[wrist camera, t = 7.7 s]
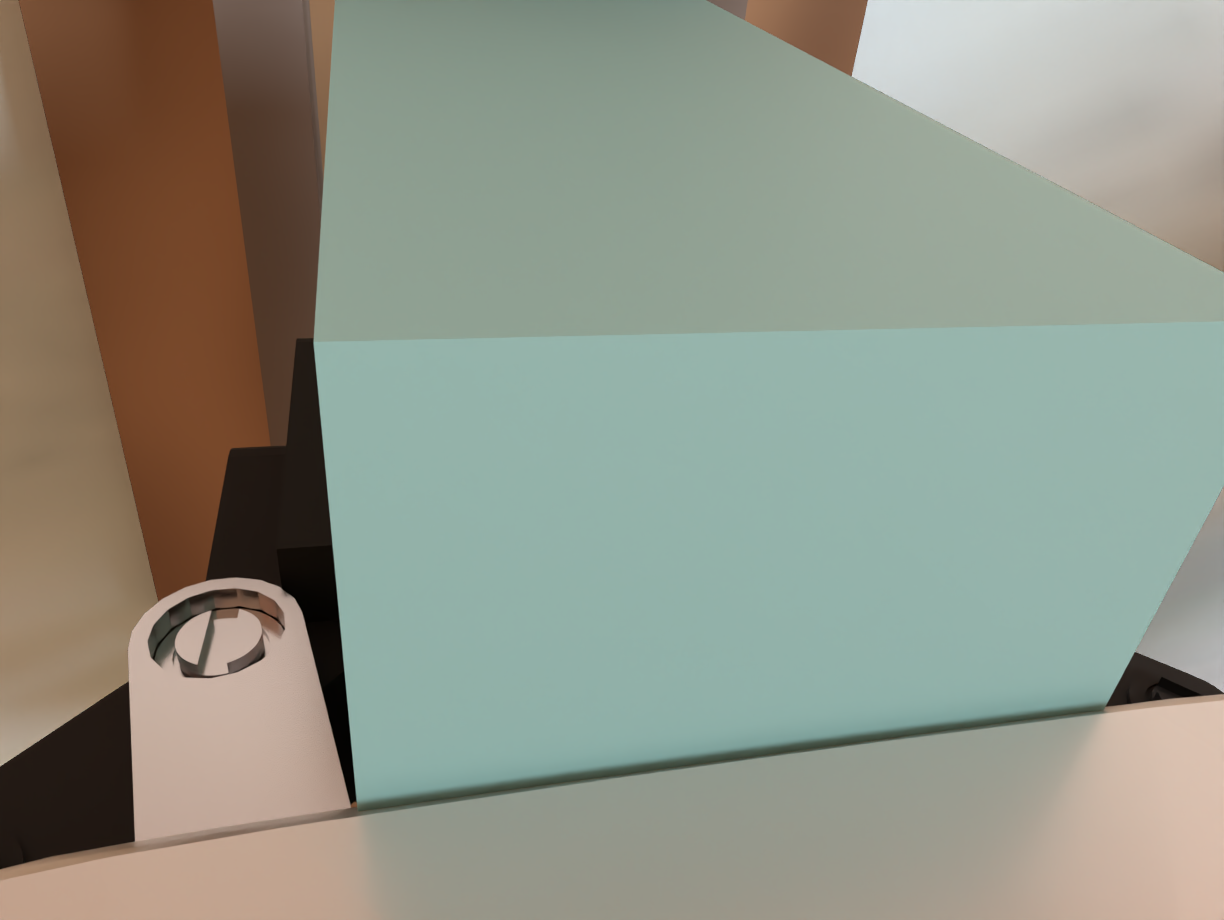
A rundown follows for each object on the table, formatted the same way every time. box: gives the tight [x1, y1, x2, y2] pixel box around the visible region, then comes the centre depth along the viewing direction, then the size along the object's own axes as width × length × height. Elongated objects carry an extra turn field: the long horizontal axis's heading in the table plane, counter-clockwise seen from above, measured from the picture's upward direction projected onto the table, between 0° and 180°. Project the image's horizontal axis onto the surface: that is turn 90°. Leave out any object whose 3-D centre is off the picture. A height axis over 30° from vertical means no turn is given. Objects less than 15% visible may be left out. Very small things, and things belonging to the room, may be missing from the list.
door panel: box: [314, 0, 1224, 811], centre depth 10 cm, size 4×10×9 cm, turn 175°
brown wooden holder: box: [19, 0, 868, 808], centre depth 16 cm, size 14×20×8 cm
